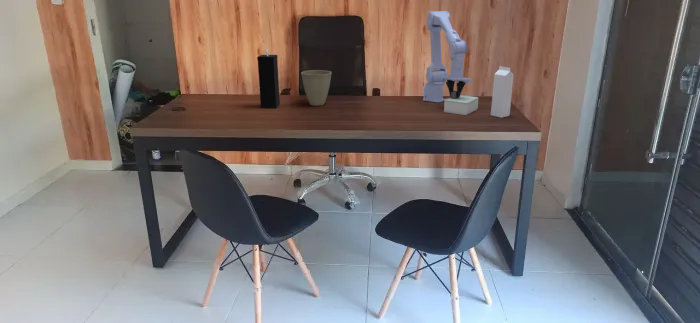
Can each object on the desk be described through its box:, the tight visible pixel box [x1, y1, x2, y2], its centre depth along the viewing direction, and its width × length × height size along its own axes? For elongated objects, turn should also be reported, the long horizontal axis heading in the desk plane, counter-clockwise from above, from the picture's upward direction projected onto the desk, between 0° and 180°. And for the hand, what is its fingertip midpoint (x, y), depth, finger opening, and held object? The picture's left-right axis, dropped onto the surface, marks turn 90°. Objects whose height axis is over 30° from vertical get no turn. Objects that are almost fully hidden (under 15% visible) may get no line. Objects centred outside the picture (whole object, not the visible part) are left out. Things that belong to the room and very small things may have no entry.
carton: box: [443, 98, 479, 116], centre depth 232 cm, size 11×14×5 cm
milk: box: [490, 65, 514, 119], centre depth 220 cm, size 6×6×22 cm
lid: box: [444, 90, 479, 104], centre depth 231 cm, size 11×14×4 cm
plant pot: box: [301, 69, 332, 106], centre depth 245 cm, size 15×15×16 cm
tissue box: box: [256, 48, 281, 109], centre depth 239 cm, size 8×8×28 cm
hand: (454, 96), depth 233 cm, fingers open, 3 cm apart
